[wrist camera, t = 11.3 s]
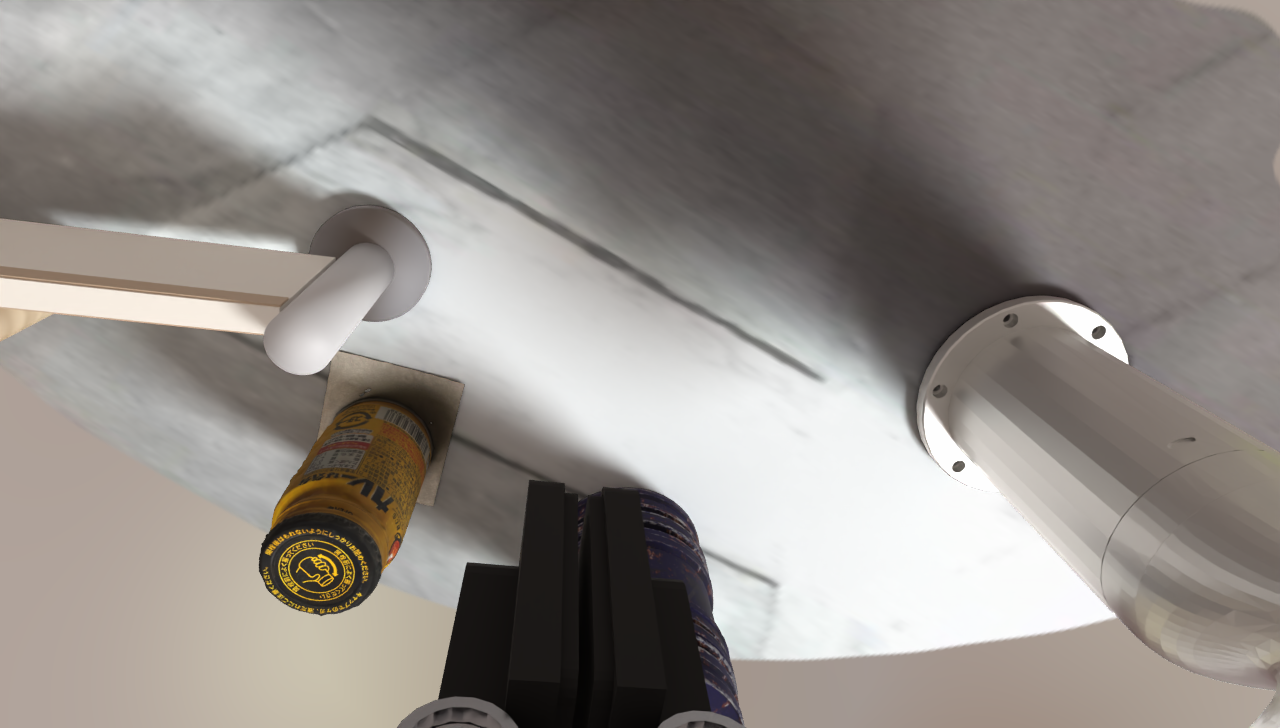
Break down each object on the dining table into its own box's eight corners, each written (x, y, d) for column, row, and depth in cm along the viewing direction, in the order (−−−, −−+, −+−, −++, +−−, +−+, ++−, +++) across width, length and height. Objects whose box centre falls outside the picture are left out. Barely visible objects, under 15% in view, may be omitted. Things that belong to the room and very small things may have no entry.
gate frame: (466, -298, 32) (409, -474, 21) (428, 327, 43) (376, 427, 32) (-12, -405, 30) (-355, -666, 19) (70, 284, 40) (-121, 375, 29)
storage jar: (524, 592, 50) (505, 801, 36) (576, 466, 47) (577, 644, 33) (666, 629, 52) (699, 841, 38) (725, 511, 49) (785, 696, 35)
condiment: (310, 477, 46) (225, 616, 35) (334, 348, 43) (251, 455, 32) (433, 504, 47) (390, 646, 36) (465, 381, 44) (429, 495, 33)
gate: (395, 246, 40) (333, 316, 30) (393, 294, 41) (333, 378, 30) (-96, 187, 37) (-350, 243, 27) (-84, 240, 38) (-326, 314, 28)
